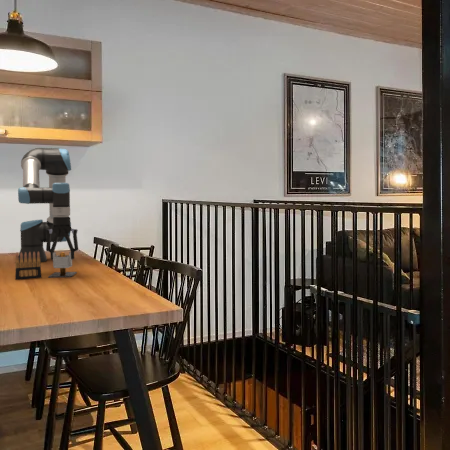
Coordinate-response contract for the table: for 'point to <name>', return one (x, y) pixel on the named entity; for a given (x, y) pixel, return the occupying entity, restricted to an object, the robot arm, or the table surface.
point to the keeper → (62, 271)
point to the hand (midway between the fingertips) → (62, 266)
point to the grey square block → (61, 261)
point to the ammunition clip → (27, 266)
